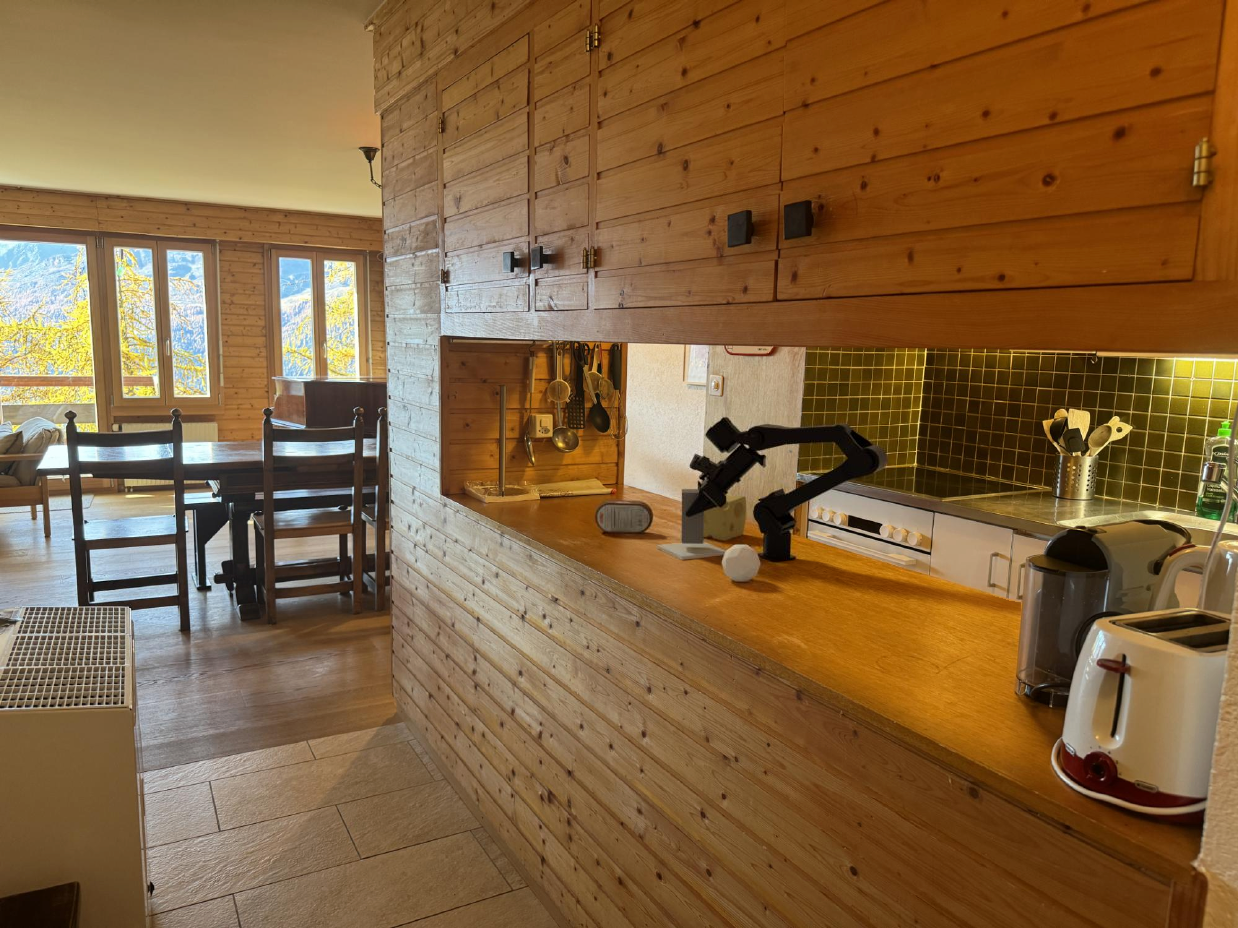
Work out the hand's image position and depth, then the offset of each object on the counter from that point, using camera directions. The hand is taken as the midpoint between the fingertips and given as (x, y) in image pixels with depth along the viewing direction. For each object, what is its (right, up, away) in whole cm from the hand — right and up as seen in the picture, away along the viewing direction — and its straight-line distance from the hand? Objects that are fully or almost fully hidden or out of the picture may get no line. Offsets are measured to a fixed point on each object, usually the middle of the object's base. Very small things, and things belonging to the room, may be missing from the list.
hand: (686, 513), depth 204 cm
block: (+1, -7, +1) cm, 7 cm away
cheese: (+10, -7, +19) cm, 22 cm away
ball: (+9, -13, -23) cm, 28 cm away
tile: (+1, -9, +1) cm, 9 cm away
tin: (-15, -6, +21) cm, 27 cm away
